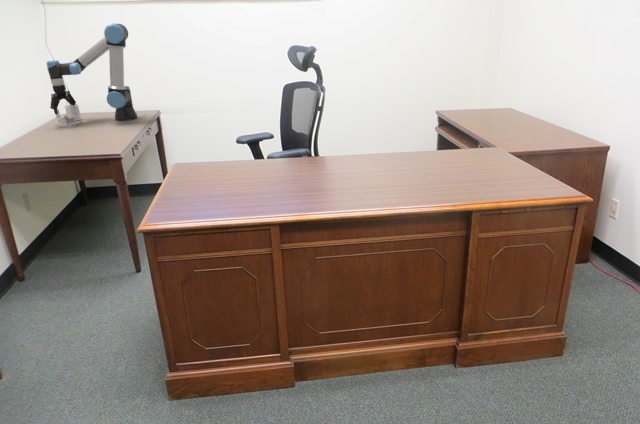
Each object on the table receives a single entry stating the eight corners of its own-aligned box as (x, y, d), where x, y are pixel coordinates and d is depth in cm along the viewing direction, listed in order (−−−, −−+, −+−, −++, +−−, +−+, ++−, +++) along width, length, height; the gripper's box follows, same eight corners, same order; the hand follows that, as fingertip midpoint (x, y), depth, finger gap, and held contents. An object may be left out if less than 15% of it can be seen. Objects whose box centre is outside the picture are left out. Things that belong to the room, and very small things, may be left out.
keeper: (77, 123, 324) (75, 114, 321) (68, 126, 316) (65, 117, 313) (67, 123, 326) (65, 114, 323) (57, 126, 318) (55, 116, 315)
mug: (82, 117, 344) (79, 103, 340) (80, 120, 334) (77, 105, 330) (69, 118, 342) (66, 103, 337) (67, 121, 331) (63, 106, 327)
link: (74, 122, 322) (73, 117, 321) (67, 124, 316) (65, 119, 315) (66, 121, 324) (65, 117, 323) (58, 123, 318) (57, 119, 317)
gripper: (68, 82, 322) (75, 112, 331) (38, 87, 300) (47, 120, 309) (76, 82, 320) (84, 112, 328) (47, 87, 298) (56, 120, 307)
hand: (66, 116), depth 319 cm, fingers open, 13 cm apart
